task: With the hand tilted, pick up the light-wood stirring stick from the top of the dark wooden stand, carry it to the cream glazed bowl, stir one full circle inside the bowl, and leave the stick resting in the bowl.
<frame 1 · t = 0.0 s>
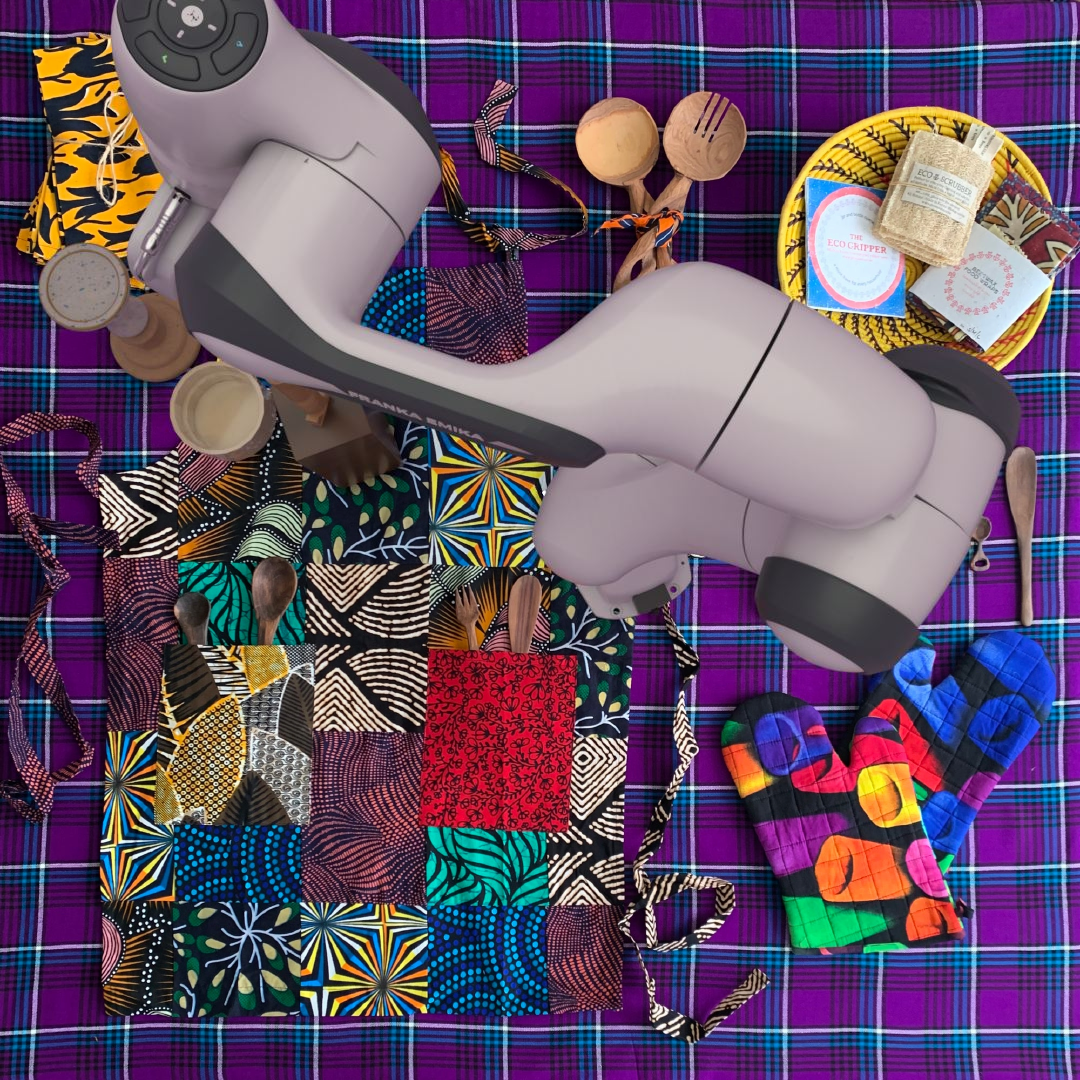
hand: (229, 194, 72), 52 cm above the table, tool tilted 20°, fingers open, 8 cm apart
stick: (320, 409, 101), point 22 cm above the table, touching stand
bowl: (233, 417, 123), on the table
candle holder: (159, 339, 125), on the table
stand: (361, 446, 123), on the table
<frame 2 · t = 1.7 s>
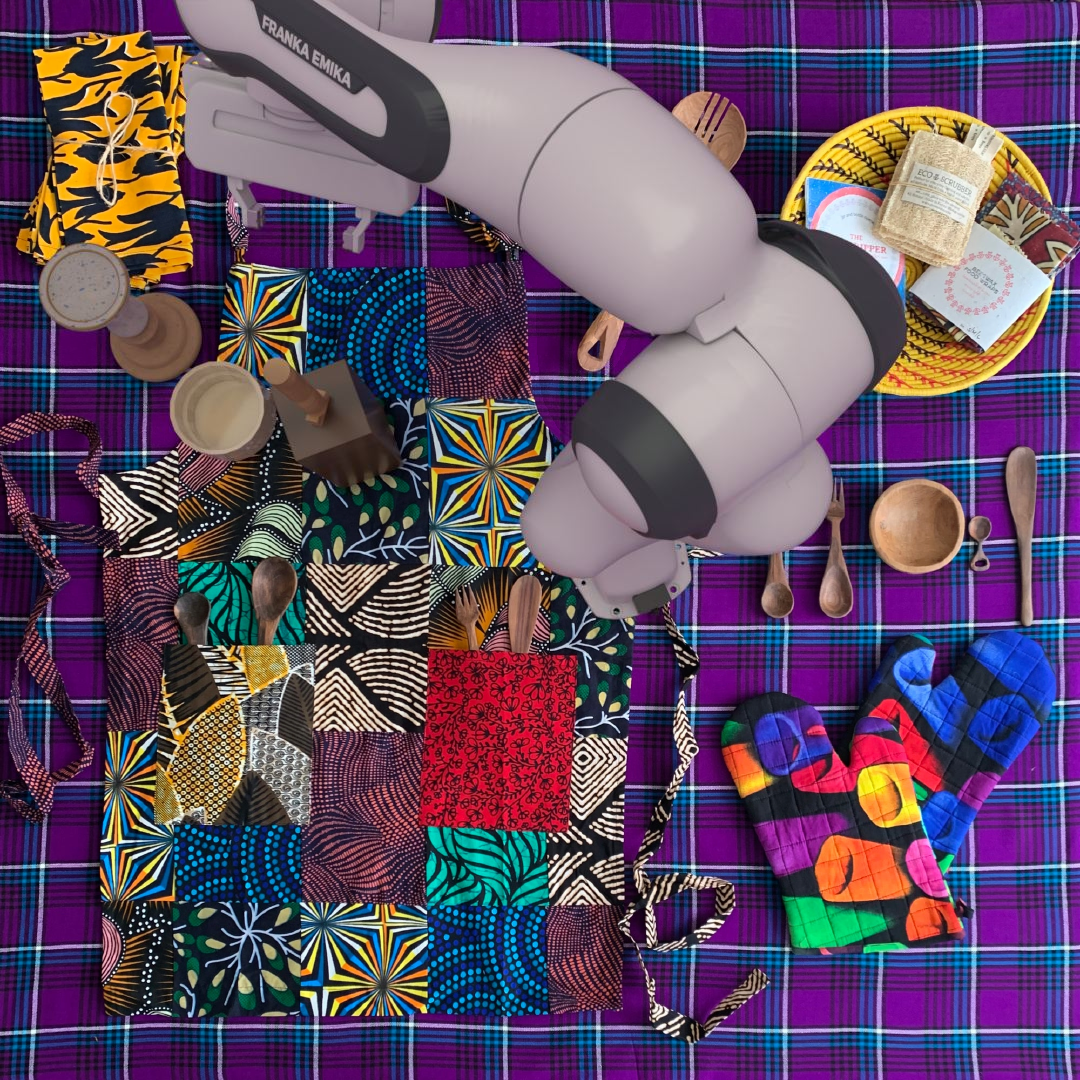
hand: (303, 237, 83), 41 cm above the table, tool tilted 45°, fingers open, 8 cm apart
nothing on the table moved.
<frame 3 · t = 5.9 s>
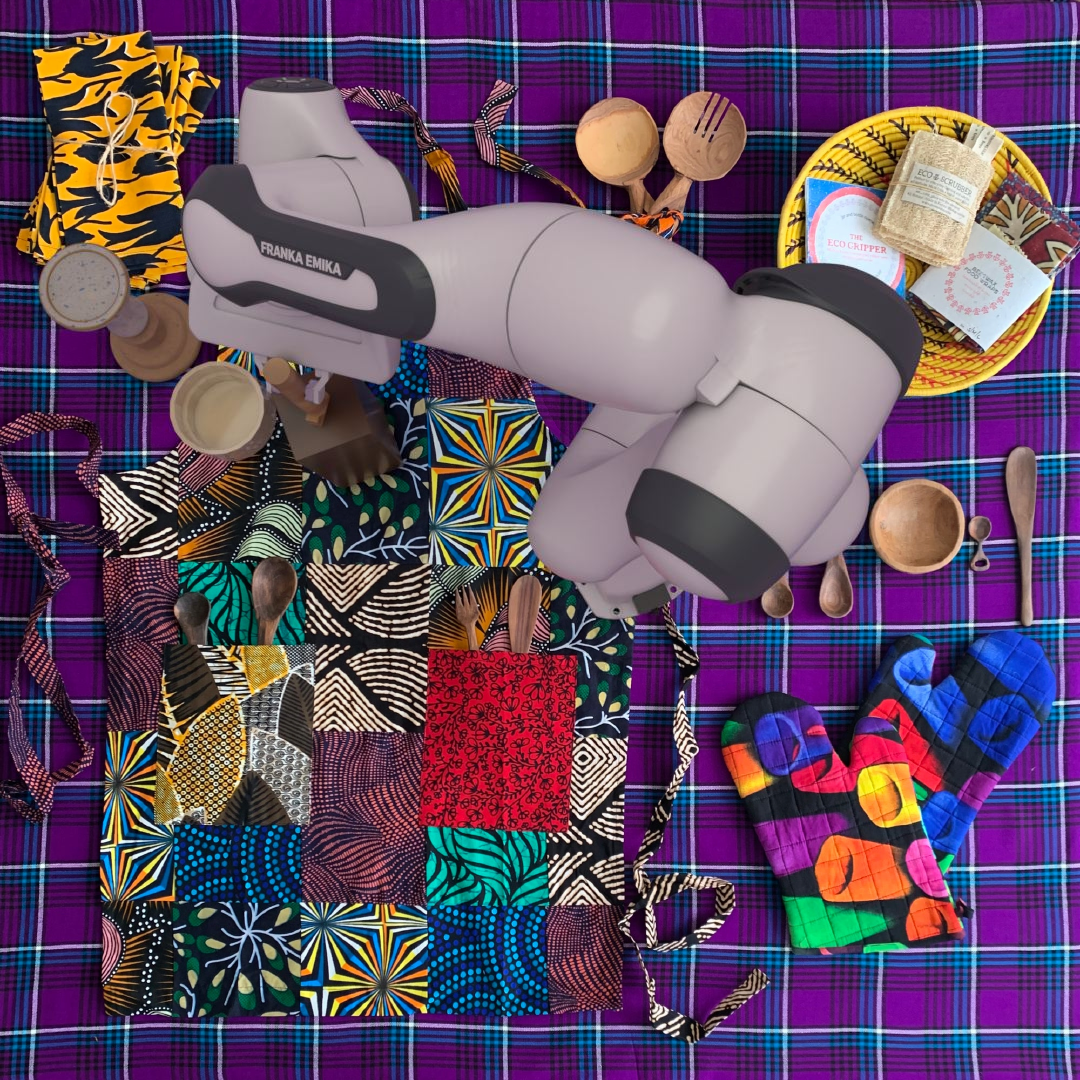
hand: (296, 395, 92), 31 cm above the table, tool tilted 45°, fingers closed on stick, 2 cm apart
stick: (320, 409, 101), point 22 cm above the table, touching gripper, stand
everything else where it was.
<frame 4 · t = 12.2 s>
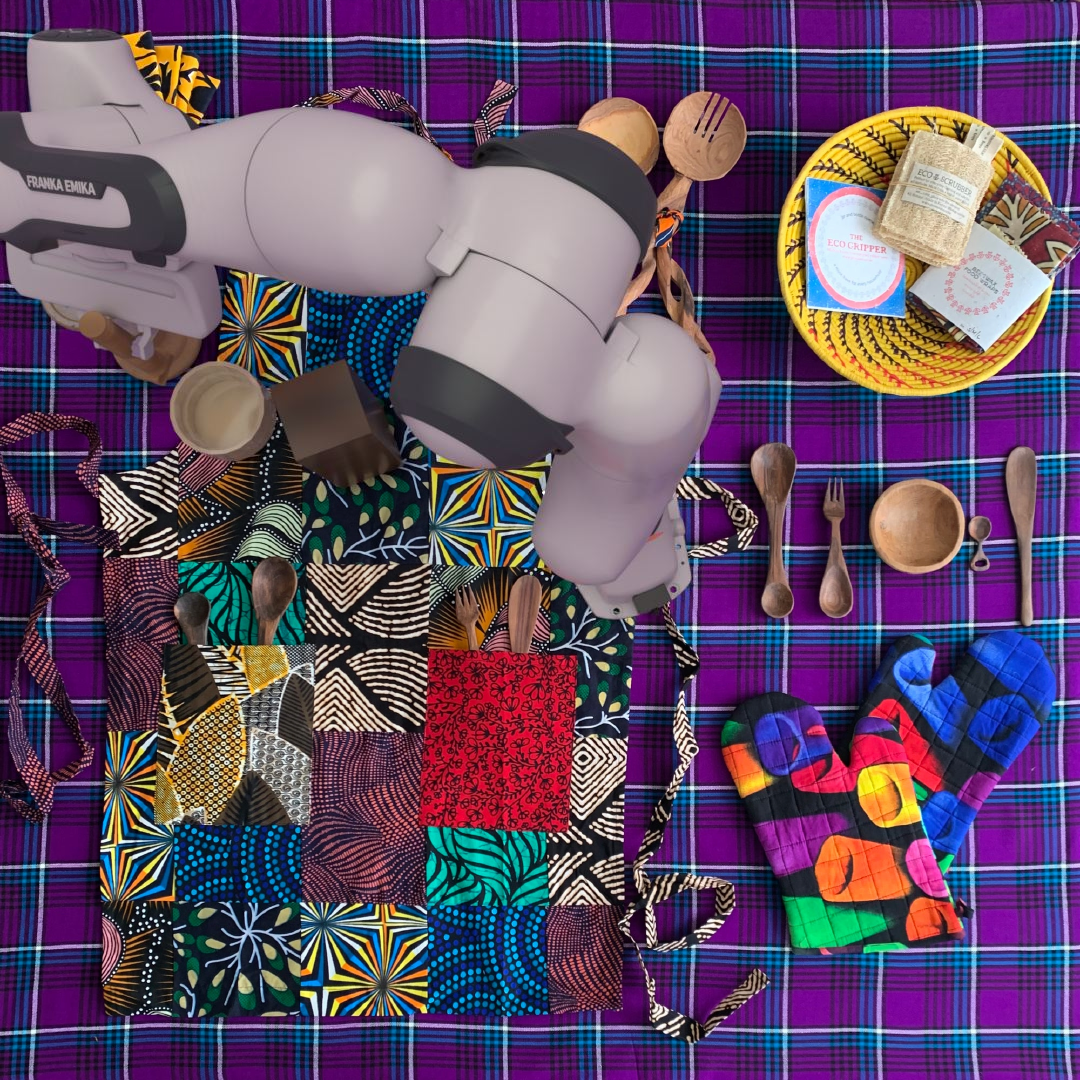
hand: (125, 352, 93), 30 cm above the table, tool tilted 45°, fingers closed on stick, 2 cm apart
stick: (163, 369, 102), point 21 cm above the table, touching gripper
everything else where it was.
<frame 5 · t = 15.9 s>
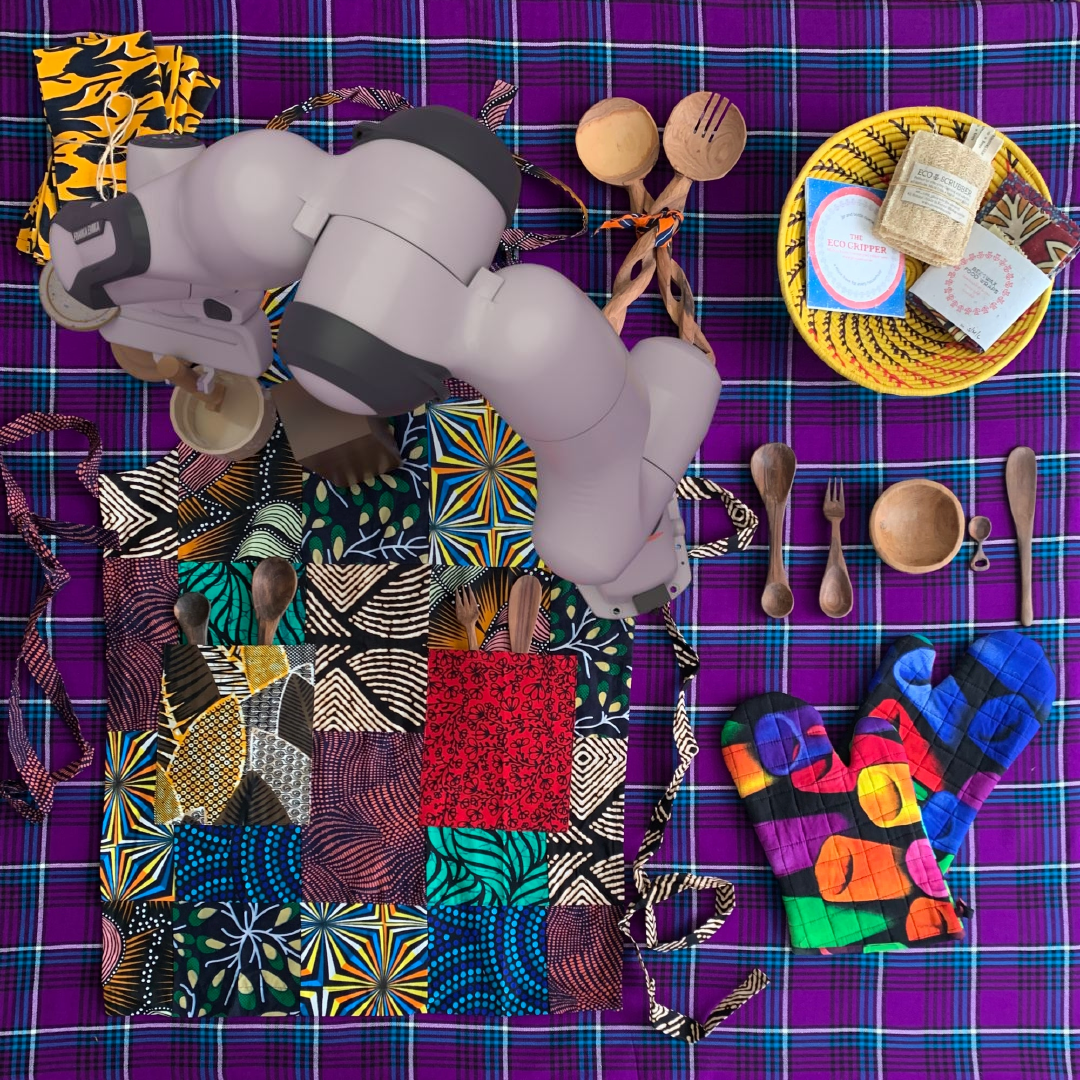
hand: (190, 387, 112), 12 cm above the table, tool tilted 45°, fingers closed on stick, 2 cm apart
stick: (218, 399, 120), point 3 cm above the table, touching gripper
everything else where it was.
when the fingers open (10 cm above the table, at t = 18.9 s): stick stays where it is, resting on bowl.
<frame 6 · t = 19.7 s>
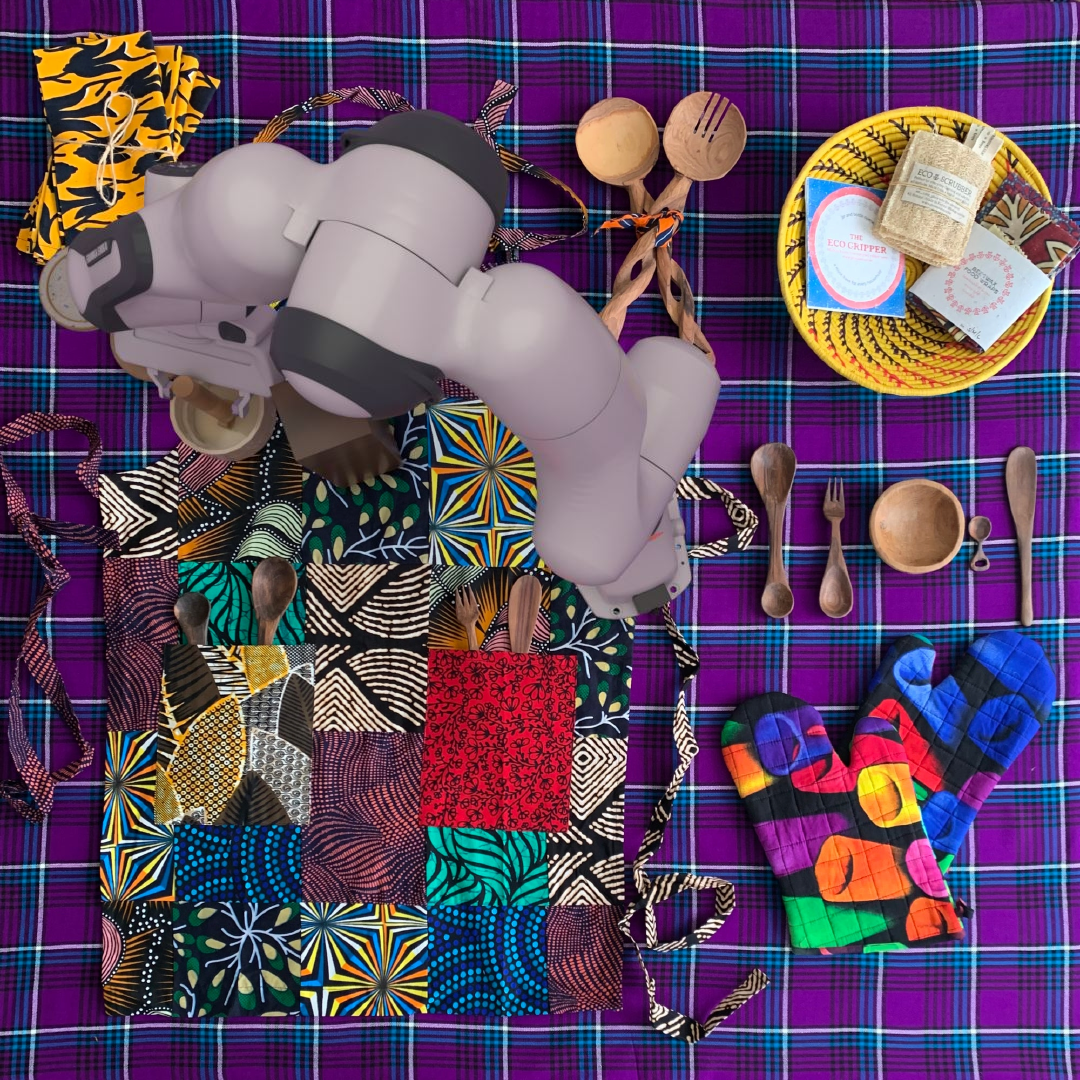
hand: (204, 405, 114), 10 cm above the table, tool tilted 45°, fingers open, 8 cm apart
stick: (230, 416, 123), point 1 cm above the table, touching bowl
everything else where it was.
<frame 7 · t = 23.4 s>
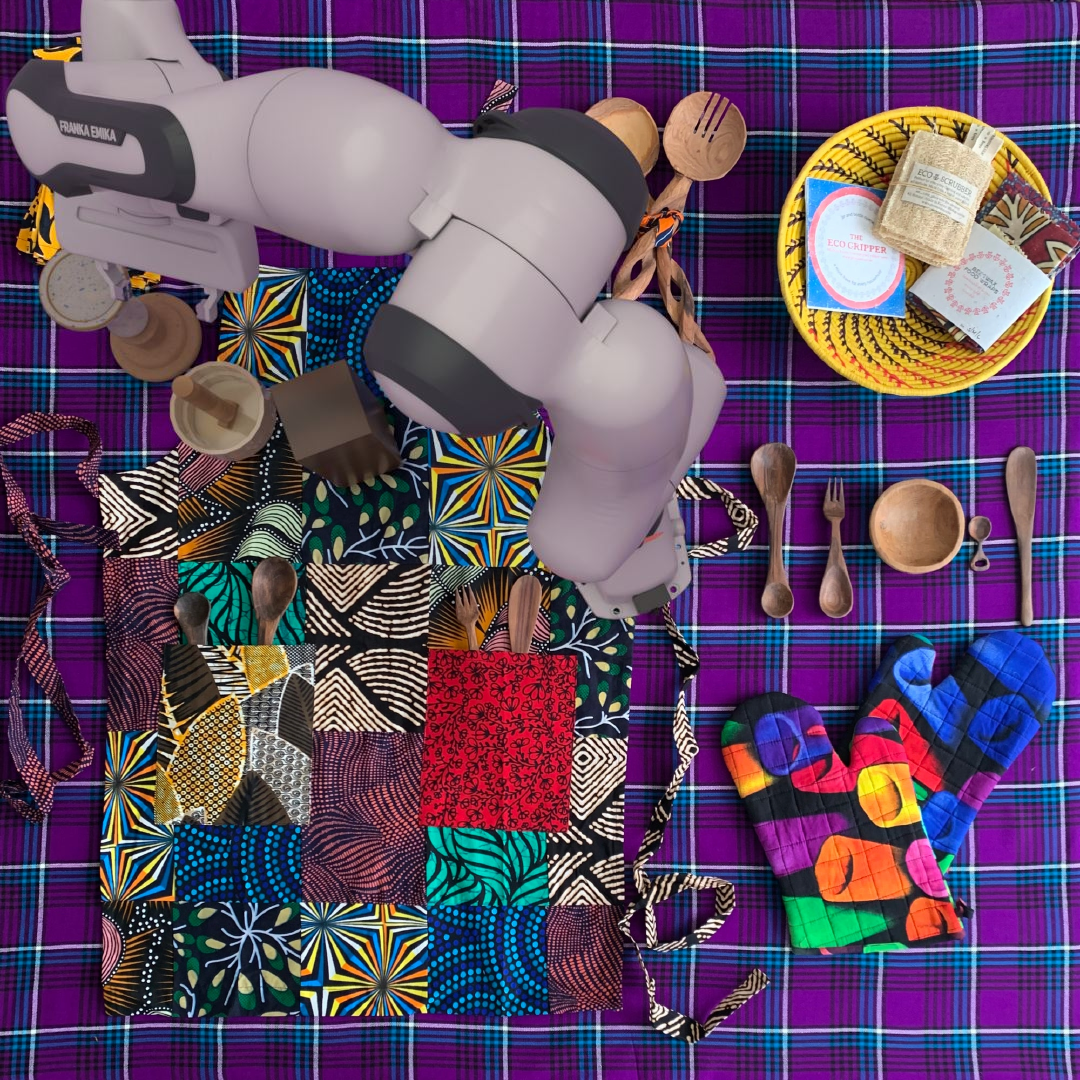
hand: (164, 308, 97), 27 cm above the table, tool tilted 45°, fingers open, 8 cm apart
nothing on the table moved.
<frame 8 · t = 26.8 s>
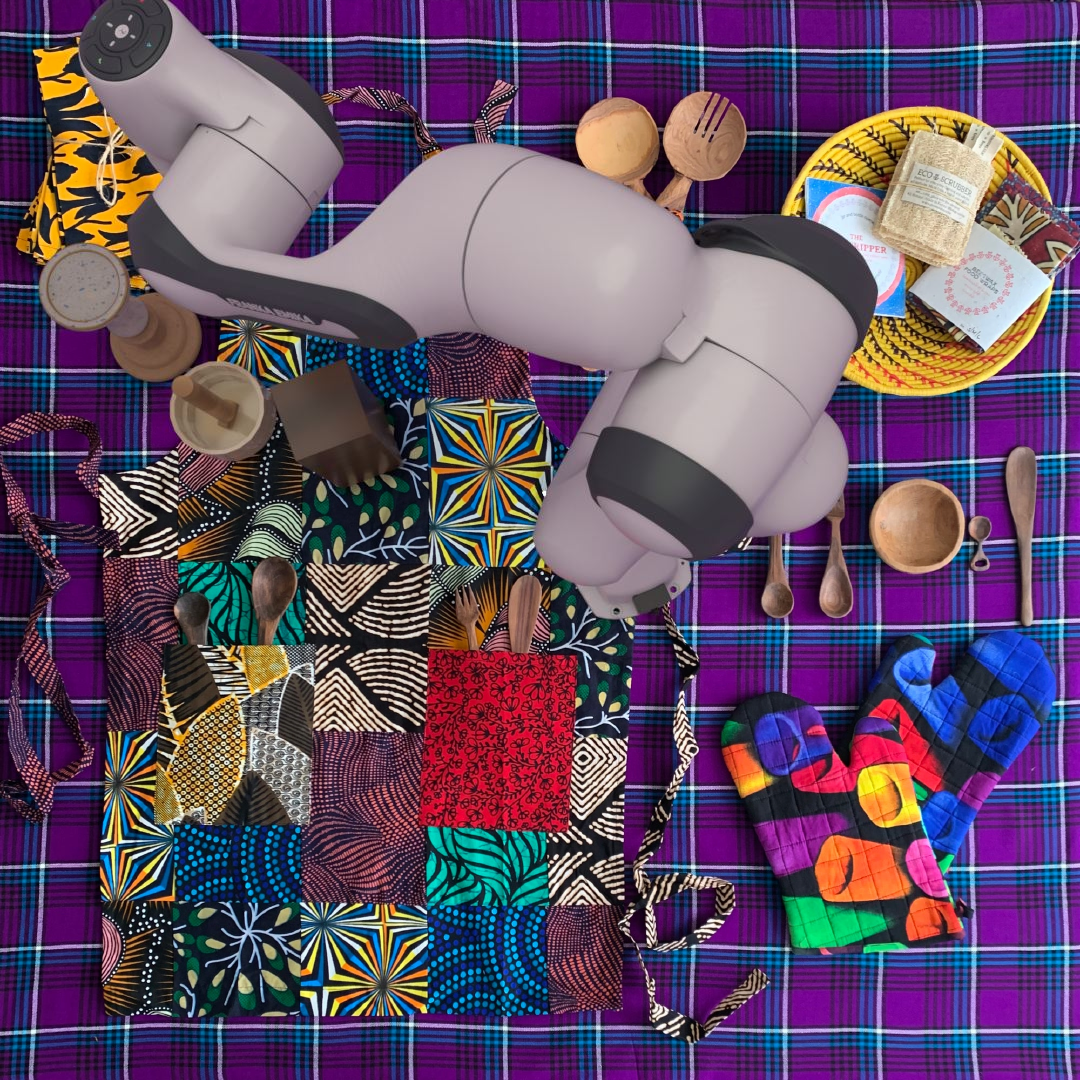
hand: (263, 223, 90), 34 cm above the table, tool pointing down, fingers open, 8 cm apart
nothing on the table moved.
at the end: stick inside the target area in the bowl (0.0 cm from its centre), point 0.8 cm above the bowl's base; the gripper is holding nothing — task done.
